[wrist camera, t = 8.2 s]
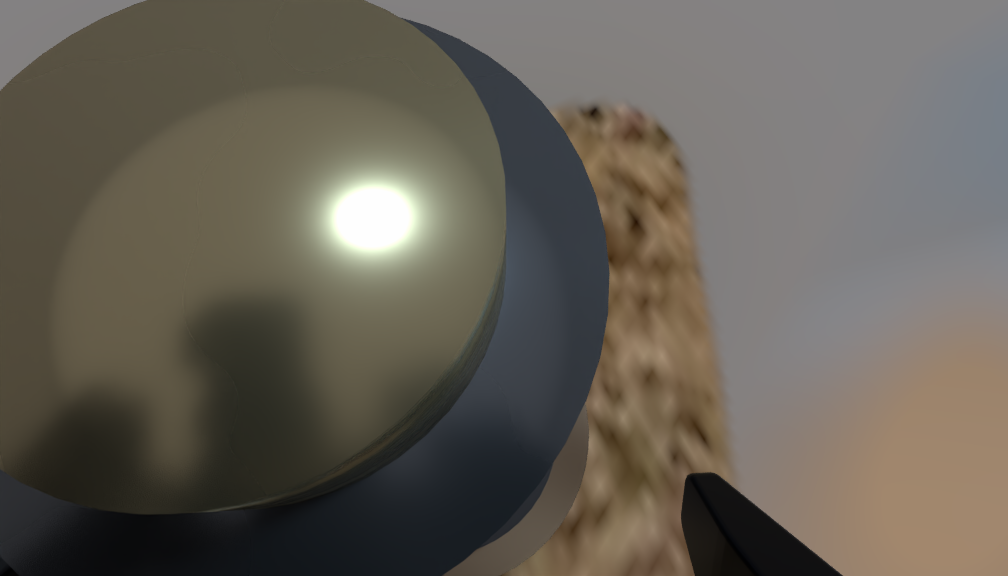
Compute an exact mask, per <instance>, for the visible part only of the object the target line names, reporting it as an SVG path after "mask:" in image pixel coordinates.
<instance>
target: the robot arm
mask: <svg viewBox="0 0 1008 576" xmlns="http://www.w3.org/2000/svg"><path fill="white" fill-rule="evenodd" d="M681 521H682V528H683V532H684V536H685V540H686V544H687V548H688V551H689V555H690V559H691V563H692V566H693V570H694V574H695V576H843V575H841V574H840V573H839V572H838V571H836V570H835V569H834V568H833V567H831V566H830V565H829V564H828V563H826V562H825V561H824V560H823V559H822V558H820V557H819V556H818V555H817V554H815V553H814V552H813V551H812V550H810V549H809V548H808V547H807V546H805V545H804V544H803V543H802V542H800V541H799V540H798V539H797V538H795V537H794V536H793V535H792V534H791V533H789V532H788V531H787V530H786V529H784V528H783V527H782V526H781V525H779V524H778V523H777V522H776V521H774V520H773V519H772V518H771V517H770V516H768V515H767V514H766V513H764V512H763V511H762V510H761V509H760V508H758V507H757V506H756V505H755V504H753V503H752V502H751V501H750V500H748V499H747V498H746V497H745V496H744V495H742V494H741V493H740V492H739V491H737V490H736V489H735V488H734V487H732V486H731V485H730V484H729V483H727V482H726V481H725V480H724V479H722V478H721V477H720V476H719V475H717V474H715V473H711V472H708V473H691V474H689V475H688V476H687V478H686V480H685V487H684V495H683V503H682V511H681ZM0 576H19V575H18V574H17V573H16V572H15V571H14V570H13V569H12V568H11V567H10V566H9V565H8V564H7V563H6V562H5V561H4V560H3V559H2V558H1V557H0Z"/></svg>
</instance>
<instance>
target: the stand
mask: <svg viewBox="0 0 1008 576" xmlns="http://www.w3.org/2000/svg"><path fill="white" fill-rule="evenodd" d="M588 439H589V427H588V418H587V410H586V405H585V404H584V406H583V408H582V410H581V412H580V414H579V417H578V419H577V421H576V423H575V425H574V427H573V429H572V431H571V433H570V435H569V437H568V439H567V442H566V444H565V445H564V447H563V448H562V450H561V451H560V453H559V454H558V456H557V457H556V459H555V460H554V462H553V466H552V469H551V472H550V475H549V479H548V481H547V483H546V485H545V487H544V489H543V491H542V493H541V495H540V497H539V498H538V500H537V501H536V503H535V504H534V506H533V508H532V509H531V510H530V511H529V512H528V513H527V515H526V516H525V517H524V518H523V519H522V520H521V521H520V522H519V523H518V524H517V525H516V526H515V527H514V528H513V529H511V530H510V531H509V532H508V533H506V534H505V535H503V536H502V537H500V538H499V539H497V540H496V541H494V542H492V543H490V544H488V545H486V546H484V547H482V548H479V549H477V550H475V551H474V552H473V553H472V554H471V555H470V556H469V557H468V558H467V559H465V560H464V561H463V562H461V563H460V564H458V565H457V566H456V567H454V568H453V569H451V570H450V571H448V572H447V573H445V574H444V575H442V576H500V575H502V574H504V573H506V572H507V571H509V570H511V569H513V568H515V567H517V566H518V565H520V564H521V563H522V562H524V561H525V560H526V559H528V558H529V557H530V556H532V555H533V554H534V553H535V552H536V551H537V550H539V549H540V548H541V547H542V546H543V545H544V544H545V543H546V542H547V541H548V540H549V539H550V537H551V536H552V535H553V534H554V532H555V531H556V530H557V529H558V527H559V526H560V525H561V523H562V522H563V520H564V518H565V517H566V515H567V513H568V512H569V510H570V508H571V507H572V505H573V502H574V500H575V498H576V495H577V493H578V491H579V488H580V485H581V482H582V478H583V475H584V471H585V467H586V461H587V454H588Z"/></svg>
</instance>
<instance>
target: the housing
mask: <svg viewBox="0 0 1008 576" xmlns="http://www.w3.org/2000/svg"><path fill="white" fill-rule="evenodd" d="M608 295H609V265H608V255H607V245H606V236H605V230H604V226H603V222H602V218H601V214H600V210H599V206H598V202H597V198H596V195H595V192H594V190H593V187H592V185H591V182H590V180H589V177H588V175H587V173H586V170H585V168H584V165H583V163H582V160H581V159H580V157H579V155H578V154H577V152H576V150H575V148H574V147H573V145H572V143H571V142H570V140H569V138H568V136H567V135H566V133H565V131H564V130H563V128H562V127H561V126H560V124H559V123H558V122H557V121H556V119H555V118H554V117H553V115H552V114H551V113H550V112H549V110H548V109H547V108H546V107H545V105H544V104H543V103H542V101H541V100H539V99H538V98H537V97H536V96H535V95H534V94H533V93H532V92H531V91H530V90H529V89H528V88H527V87H526V86H525V85H524V84H523V83H522V82H521V81H520V80H519V79H518V78H517V77H516V76H514V75H513V74H512V73H510V72H509V71H507V70H506V69H505V68H504V67H502V66H501V65H500V64H498V63H497V62H496V61H494V60H493V59H492V58H490V57H489V56H487V55H486V54H484V53H482V52H480V51H479V50H477V49H475V48H473V47H471V46H470V45H468V44H466V43H465V42H463V41H461V40H460V39H457V38H455V37H453V36H450V35H448V34H446V33H443V32H441V31H439V30H436V29H434V28H431V27H429V26H427V25H423V24H420V23H416V22H413V21H410V20H406V19H403V18H400V17H398V16H396V15H394V14H392V13H391V12H389V11H387V10H385V9H383V8H381V7H378V6H376V5H374V4H371V3H369V2H367V1H364V0H147V1H144V2H141V3H137V4H134V5H132V6H130V7H127V8H125V9H123V10H120V11H118V12H116V13H113V14H111V15H109V16H106V17H104V18H102V19H100V20H98V21H96V22H94V23H93V24H91V25H89V26H87V27H85V28H83V29H81V30H80V31H78V32H76V33H74V34H72V35H71V36H69V37H68V38H66V39H64V40H63V41H62V42H60V43H59V44H57V45H56V46H54V47H53V48H51V49H50V50H48V51H47V52H45V53H44V54H42V55H41V56H39V57H38V58H37V59H36V60H35V61H33V62H32V63H31V64H30V65H28V66H27V67H26V68H25V69H24V70H22V71H21V72H20V73H19V74H17V75H16V76H15V77H14V78H13V79H12V80H11V81H10V82H9V83H8V84H7V85H6V86H5V87H4V88H3V89H2V90H1V91H0V557H1V558H2V559H3V560H4V561H5V562H6V563H7V564H8V565H9V566H10V567H11V568H12V569H13V570H14V571H15V572H16V573H17V574H18V575H19V576H442V575H444V574H445V573H447V572H448V571H450V570H451V569H453V568H454V567H456V566H457V565H458V564H460V563H461V562H463V561H464V560H465V559H467V558H468V557H469V556H470V555H471V554H472V553H473V552H474V551H475V550H477V549H479V548H482V547H484V546H486V545H488V544H490V543H492V542H494V541H496V540H497V539H499V538H500V537H502V536H503V535H505V534H506V533H508V532H509V531H510V530H511V529H513V528H514V527H515V526H516V525H517V524H518V523H519V522H520V521H521V520H522V519H523V518H524V517H525V516H526V515H527V513H528V512H529V511H530V510H531V509H532V508H533V506H534V504H535V503H536V501H537V500H538V498H539V497H540V495H541V493H542V491H543V489H544V487H545V485H546V483H547V481H548V479H549V475H550V472H551V469H552V466H553V462H554V460H555V459H556V457H557V456H558V454H559V453H560V451H561V450H562V448H563V447H564V445H565V444H566V442H567V439H568V437H569V435H570V433H571V431H572V429H573V427H574V425H575V423H576V421H577V419H578V417H579V414H580V412H581V410H582V408H583V406H584V404H585V402H586V399H587V396H588V393H589V390H590V387H591V384H592V381H593V378H594V375H595V372H596V368H597V365H598V362H599V359H600V355H601V350H602V344H603V338H604V333H605V327H606V321H607V316H608Z"/></svg>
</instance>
